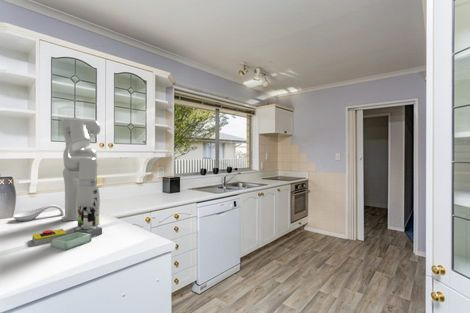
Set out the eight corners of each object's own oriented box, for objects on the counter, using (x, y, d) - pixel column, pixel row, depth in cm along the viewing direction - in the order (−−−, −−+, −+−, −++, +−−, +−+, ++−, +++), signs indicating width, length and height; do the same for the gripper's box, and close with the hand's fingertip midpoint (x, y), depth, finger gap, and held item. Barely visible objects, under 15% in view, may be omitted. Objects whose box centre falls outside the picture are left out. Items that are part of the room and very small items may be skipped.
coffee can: (86, 229, 124) (86, 202, 124) (73, 227, 128) (73, 200, 128) (104, 224, 133) (104, 198, 133) (91, 222, 137) (91, 197, 137)
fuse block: (87, 231, 122) (87, 223, 122) (102, 233, 118) (102, 225, 118) (74, 235, 115) (74, 227, 115) (88, 238, 111) (88, 230, 111)
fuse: (88, 227, 119) (88, 209, 119) (94, 228, 118) (94, 209, 118) (81, 229, 116) (81, 210, 116) (86, 230, 114) (87, 211, 114)
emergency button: (27, 232, 108) (67, 225, 118) (27, 242, 108) (67, 234, 118) (30, 237, 101) (72, 229, 112) (30, 247, 101) (72, 238, 112)
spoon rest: (13, 224, 133) (13, 211, 133) (12, 219, 142) (12, 207, 142) (64, 216, 150) (64, 205, 150) (61, 213, 158) (61, 202, 158)
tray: (77, 238, 111) (77, 231, 111) (91, 241, 108) (91, 234, 108) (51, 246, 101) (51, 239, 101) (66, 250, 98) (66, 242, 98)
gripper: (107, 183, 117) (107, 220, 117) (83, 181, 123) (83, 216, 123) (93, 185, 110) (92, 225, 110) (68, 182, 116) (68, 220, 116)
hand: (87, 220), depth 117 cm, fingers closed on fuse, 3 cm apart
